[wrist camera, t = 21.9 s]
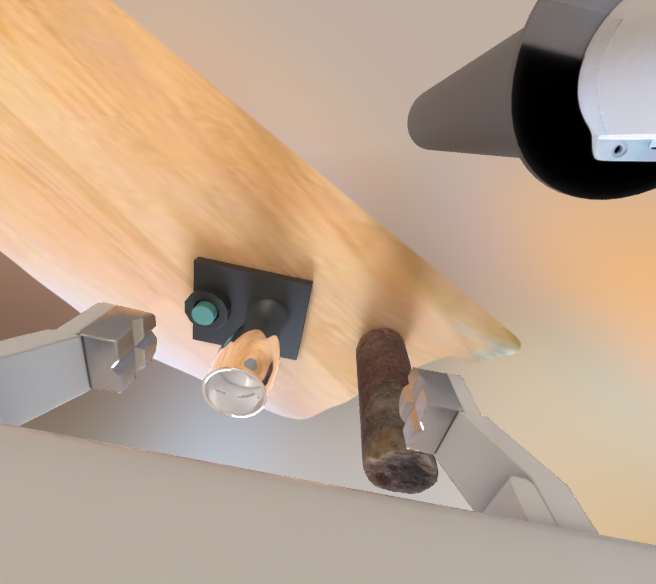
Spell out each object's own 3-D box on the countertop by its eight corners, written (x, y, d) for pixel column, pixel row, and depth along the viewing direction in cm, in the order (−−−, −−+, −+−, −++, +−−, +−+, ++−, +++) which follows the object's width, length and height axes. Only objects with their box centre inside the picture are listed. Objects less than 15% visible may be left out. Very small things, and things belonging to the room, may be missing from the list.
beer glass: (300, 327, 44) (281, 408, 31) (259, 343, 46) (224, 426, 33) (277, 287, 42) (245, 357, 28) (234, 305, 43) (184, 379, 30)
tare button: (218, 303, 42) (213, 308, 41) (217, 321, 43) (213, 327, 42) (196, 298, 42) (191, 303, 40) (196, 317, 43) (191, 322, 42)
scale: (313, 281, 43) (310, 290, 40) (297, 354, 48) (294, 367, 46) (195, 255, 42) (184, 263, 39) (193, 333, 48) (184, 345, 45)
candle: (394, 371, 49) (422, 505, 31) (349, 361, 48) (351, 490, 30) (411, 332, 45) (454, 456, 27) (363, 321, 45) (375, 439, 27)
